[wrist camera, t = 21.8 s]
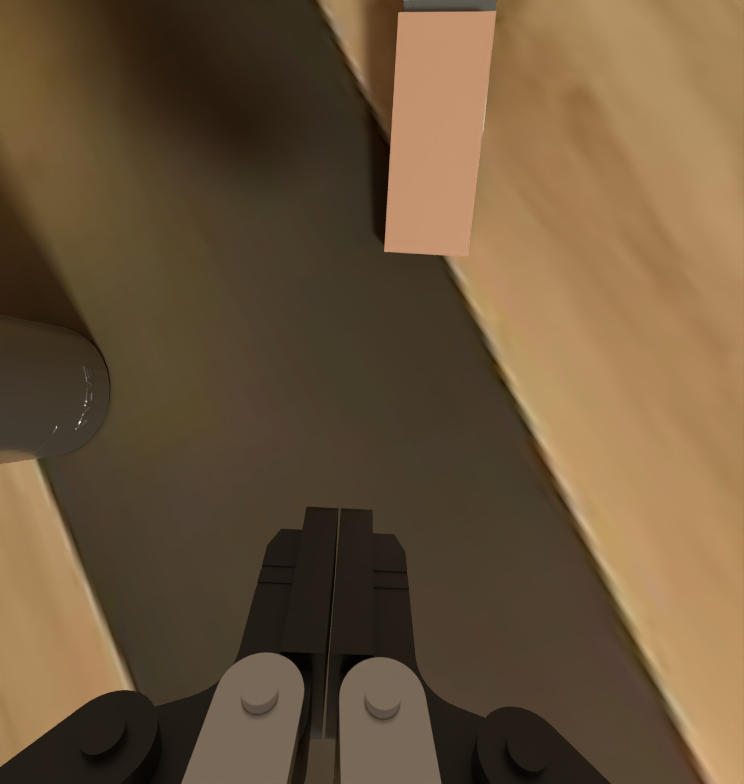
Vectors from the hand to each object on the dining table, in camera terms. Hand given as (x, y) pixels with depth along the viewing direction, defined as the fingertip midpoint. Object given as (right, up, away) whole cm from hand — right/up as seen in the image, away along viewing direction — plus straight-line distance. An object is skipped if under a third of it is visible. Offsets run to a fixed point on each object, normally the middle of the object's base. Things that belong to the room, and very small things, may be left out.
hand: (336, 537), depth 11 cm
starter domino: (+4, +12, +18) cm, 22 cm away
